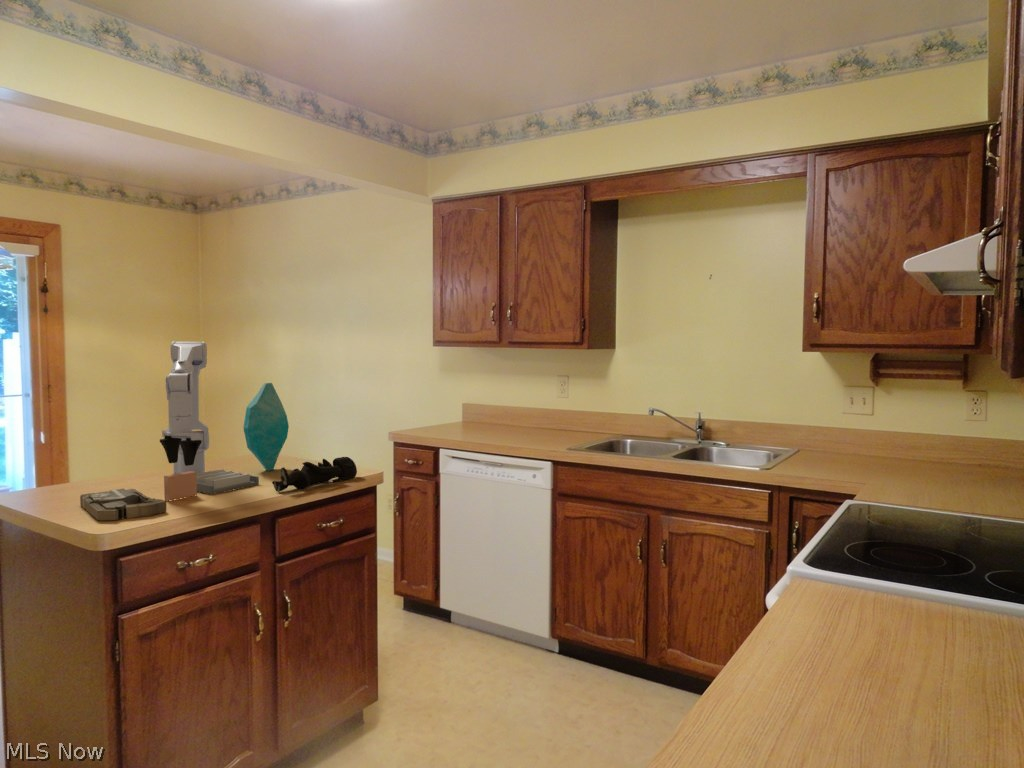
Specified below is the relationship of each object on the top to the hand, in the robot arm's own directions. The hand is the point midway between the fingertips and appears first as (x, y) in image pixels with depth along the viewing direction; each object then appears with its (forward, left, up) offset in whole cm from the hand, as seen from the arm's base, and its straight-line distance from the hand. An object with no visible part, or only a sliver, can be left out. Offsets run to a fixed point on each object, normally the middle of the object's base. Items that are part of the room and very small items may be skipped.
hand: (181, 464), depth 183 cm
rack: (-5, +15, -10) cm, 18 cm away
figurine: (+18, +34, -10) cm, 40 cm away
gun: (-1, -16, -10) cm, 19 cm away
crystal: (-13, +39, -10) cm, 42 cm away
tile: (0, 0, -10) cm, 10 cm away
